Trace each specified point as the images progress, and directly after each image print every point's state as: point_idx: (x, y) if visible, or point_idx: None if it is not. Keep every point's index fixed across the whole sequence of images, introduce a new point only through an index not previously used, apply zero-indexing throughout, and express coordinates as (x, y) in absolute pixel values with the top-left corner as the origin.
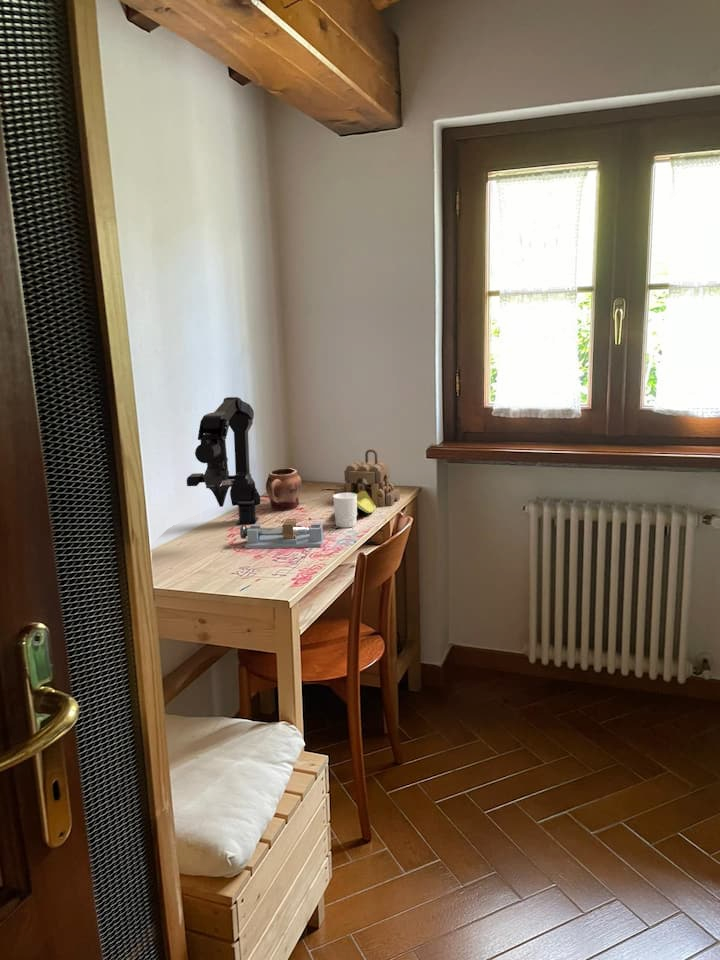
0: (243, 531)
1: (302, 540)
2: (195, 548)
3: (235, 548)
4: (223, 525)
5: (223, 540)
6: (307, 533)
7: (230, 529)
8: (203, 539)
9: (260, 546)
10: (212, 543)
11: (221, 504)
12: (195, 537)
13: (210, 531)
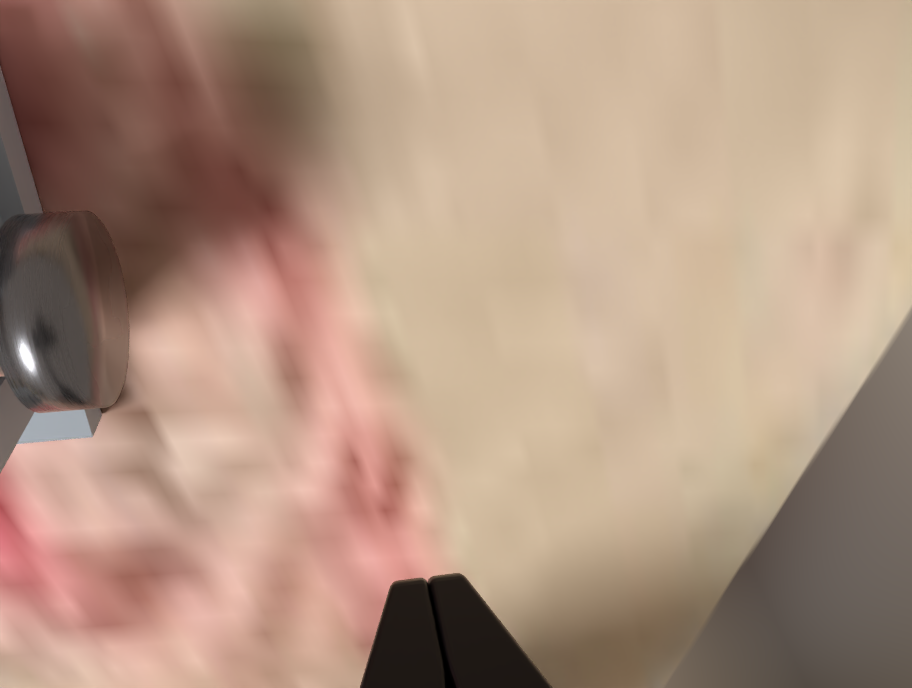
0: (4, 243)
1: None
2: (682, 61)
3: (144, 33)
4: None
5: (415, 342)
6: None
7: None
8: (634, 366)
9: None
10: (514, 244)
11: (416, 622)
12: (716, 417)
13: (603, 562)
